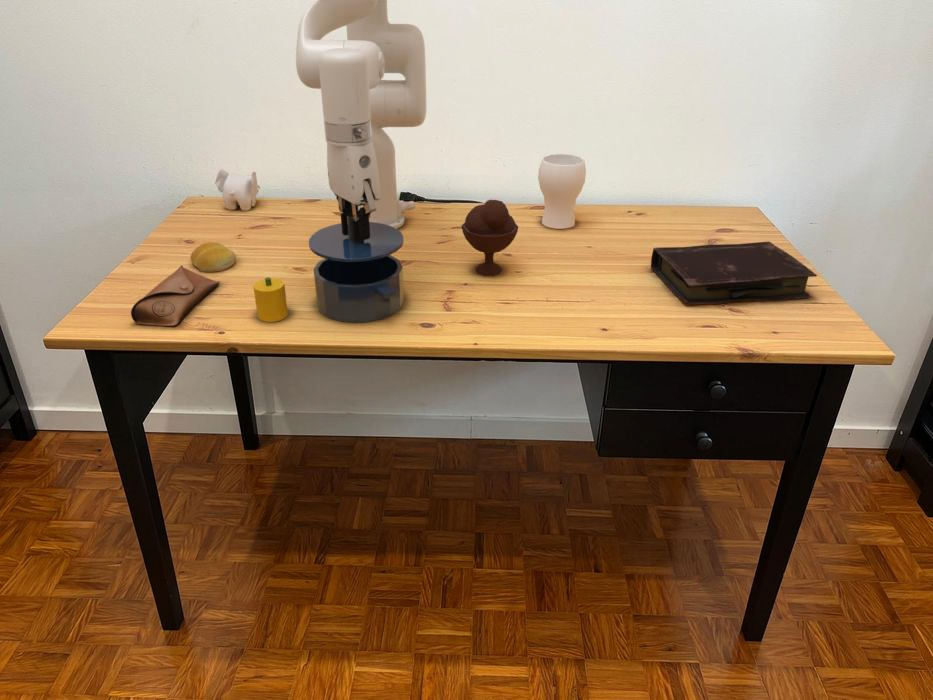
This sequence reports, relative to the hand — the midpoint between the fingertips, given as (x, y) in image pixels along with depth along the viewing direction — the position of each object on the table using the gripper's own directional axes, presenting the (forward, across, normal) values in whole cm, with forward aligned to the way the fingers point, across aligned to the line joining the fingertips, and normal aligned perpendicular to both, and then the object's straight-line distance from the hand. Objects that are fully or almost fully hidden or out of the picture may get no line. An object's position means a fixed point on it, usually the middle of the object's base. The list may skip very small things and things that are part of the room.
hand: (356, 235), depth 127 cm
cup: (+14, +7, -58) cm, 60 cm away
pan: (+13, -1, 0) cm, 13 cm away
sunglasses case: (+13, +19, +27) cm, 36 cm away
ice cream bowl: (+13, -4, -28) cm, 31 cm away
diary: (+13, -36, -61) cm, 72 cm away
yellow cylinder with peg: (+13, +4, +15) cm, 20 cm away
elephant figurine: (+14, +62, -4) cm, 64 cm away
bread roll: (+13, +32, +15) cm, 38 cm away
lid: (+1, 0, 0) cm, 1 cm away
